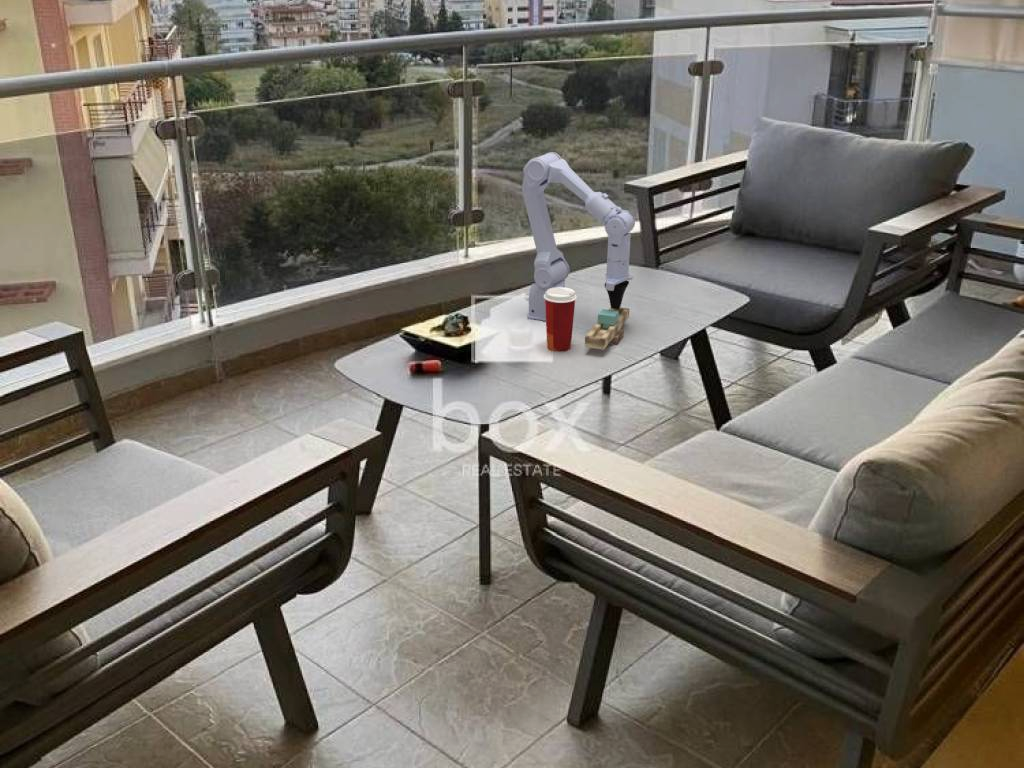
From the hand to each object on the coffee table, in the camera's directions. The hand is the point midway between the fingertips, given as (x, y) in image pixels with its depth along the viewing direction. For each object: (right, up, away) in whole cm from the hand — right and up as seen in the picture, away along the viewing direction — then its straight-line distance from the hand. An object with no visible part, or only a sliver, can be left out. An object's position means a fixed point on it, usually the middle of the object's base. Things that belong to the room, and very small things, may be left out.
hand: (615, 308), depth 267 cm
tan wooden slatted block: (-2, -8, -3) cm, 9 cm away
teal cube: (-3, -5, -5) cm, 8 cm away
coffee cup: (-15, -11, -9) cm, 21 cm away
